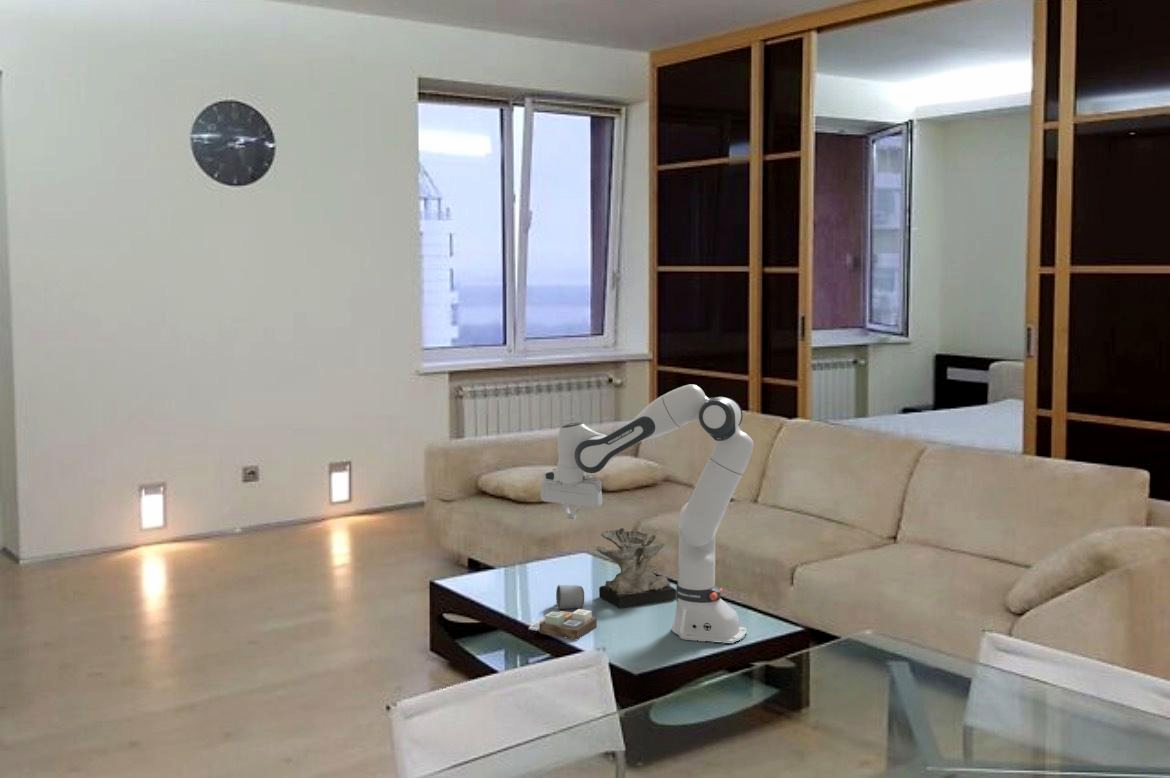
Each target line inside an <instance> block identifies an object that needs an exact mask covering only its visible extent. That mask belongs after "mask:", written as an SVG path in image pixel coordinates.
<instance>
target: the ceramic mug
mask: <svg viewBox="0 0 1170 778" xmlns="http://www.w3.org/2000/svg"><path fill="white" fill-rule="evenodd" d="M555 592H556V595H555V597H556V598H555V600H556V601H555V602H556V606H557V609H558V610H569V609H570V610H571V609H582V607H584V604H585V590H584V588H583V587H582V585H576V584H575V585H574V584H558V585H557V587H556V591H555Z"/></svg>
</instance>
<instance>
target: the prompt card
mask: <svg viewBox="0 0 1170 778" xmlns="http://www.w3.org/2000/svg"><path fill="white" fill-rule="evenodd" d="M543 621H545V617H544V618H542V619H541V620H539V621H537V622H535V623H534V624H532V625H531V626H529V627H528V630H529V631H530V630H531V631H535V632H536V631H539V623H541V622H543Z"/></svg>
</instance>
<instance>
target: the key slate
mask: <svg viewBox="0 0 1170 778" xmlns="http://www.w3.org/2000/svg"><path fill="white" fill-rule="evenodd" d="M580 626H582V622H581V621H575V620H568V621H566V622H565V623H563V627H568V628H573V629H577V628H579V627H580Z"/></svg>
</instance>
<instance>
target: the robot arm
mask: <svg viewBox="0 0 1170 778" xmlns="http://www.w3.org/2000/svg"><path fill="white" fill-rule="evenodd" d="M742 420H743V410H742V407H741V406H740V404H739V403H738V402H737V401H736V400H734V399H732V398H729V397H724V396H718V397H717V396H710V397H708V396H707V395H706V394H705V391H704V390H703V389H702V388H701V387H700V386H698V385H697V384H690V383H689V384H686V385H682V386H680V387H677V388H675V389H672V390H670V391H668V392H666V393H664V394H663V395H660V396H658V397H657V398H655V399H654V400H653V401H651V402H650V403H649V404H648V405H646V406H645V408H643V409H642V410H641V411H640V412H639V413H638V414H637V415H636V416H635V417H634V418H633V419H632V420H631V421H630V422H628V423H627V424H626V425H623V426H621V427H620V428H618V429H616V430H615V431H613V432H611V433H608V435H607V434H604V433H600V432H597V431H595V430H594V429H591V428H590V427H588V426H586V424H584V423H583V422H570V423H567V424H564V425H563V426H561V427H560V428H559V431H558V434H557V435H558V436H557V454H558V455H557V456H558V461H557V466H556V467H557V468H552V469H551V470H547V471H545V472H543V473H542V479H543V480H542V482H541V486H540V499H541V500H542V501H543V502H544V503H545V502H547V503H553V504H562V509H563V510H564V513H565V519H571V520H576V519H577V518H578V517H577V516H578V512H579V510H580V509H581V507H586V508H594V509H597V508H600V507H601V506H602V504H603V493H602V487H603V483H602V481H601V479H599V478H598V477H596V476H595V477H594V476H587V474H588V473H589V474H595V473H598V472H600V471H602V470H603V468H605V467H606V466H607V465H608V464H609V463H610V462H611V461H613V459H614V458H615V457H616V456H617V455H618V454H620V453H622V452H623V451H625V450H627V449H630V448H631V447H632V446H635V445H636V444H639V443H641V442H643V441H646V440H647V441H648V440H650V439H653V438H657V437H660V436H664V435H666V434H669V433H671V432H674V431H676V430H677V429H680V428H682V427H684V426H685V425H687V424H689V423H691V422H695V421H699V424H700V426H701V427H702V429H703V430H704V431H705V432H706V433H707V434H708V435H709V436H710V437H711V438H712V439H713V440H714V441H716V443H715V446H714V449H713V451H712V453H710V454H711V455H710V456H709V458H708V461H707V462H706V464H705V466H704V468H703V470H702V472H701V474H700V476H699V478H698V480H697V482H696V484H695V487H694V489H693V492H692V494H691V496H690V499H689V500H688V502H686V503H685V504H684V505H683V506H682V508H681V509H680V512H679V516H678V555H677V556H678V560H677V561H678V565H677V567H678V568H677V570H678V571H677V583H676V600H675V601H676V608H675V609H676V610H675V614H674V618H673V619H674V620H673V624H672V626H671V630H672V632H673V633H674V634H676V635H677V636H679V638H680V639H682V640H685V641H686V640H687V641H696V642H705V641H721V642H732V641H736V640H738V639H740V638H741V637H742V636H744V635H745V634H746V632H747V633H748V631H747V627H744V626H740V618H739V615H738V612H737V611H736V610H735V609H733V608H732V607H731V606H730V605H728V604H727V603H726V602H725V601H724V600H723V599H722V598H721V593H722V592H723V587H721V588H718V587H717V586H716V584H715V583H716V582H715V581H716V534H717V531H718V529H719V527H720V525H721V523H722V521H723V520H722V519H723V518H724V516H725V513H726V512H727V509H728V506H729V505H730V502H731V499H732V497H733V495H734V493H735V491H736V489H737V488H738V486H739V483H740V481H741V480H742V477H743V476H744V474H745V472H746V470H747V467H748V466H749V462H750V460H751V457H752V454H753V450H754V447H755V445H754V441H753V439H752V438H751V437H750V435H749V434H748V433H746V432H745V431H743V430H742V429H741V428H740V425H741V423H742V422H743V421H742ZM570 505H571V506H572V509H573V511H571V509H570V508H569V507H570ZM697 640H698V641H697Z"/></svg>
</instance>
